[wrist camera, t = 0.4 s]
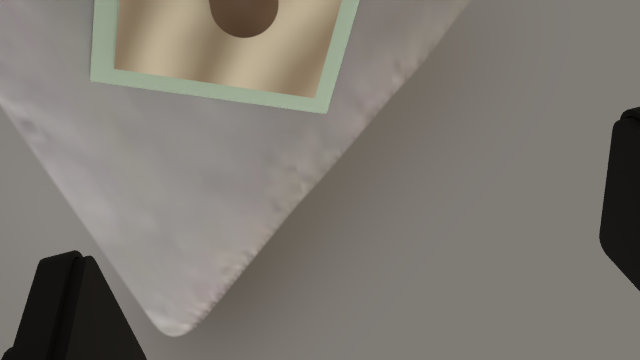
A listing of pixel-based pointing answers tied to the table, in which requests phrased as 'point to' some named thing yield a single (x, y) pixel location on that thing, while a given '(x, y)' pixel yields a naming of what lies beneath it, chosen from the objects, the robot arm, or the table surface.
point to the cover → (229, 41)
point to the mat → (105, 73)
